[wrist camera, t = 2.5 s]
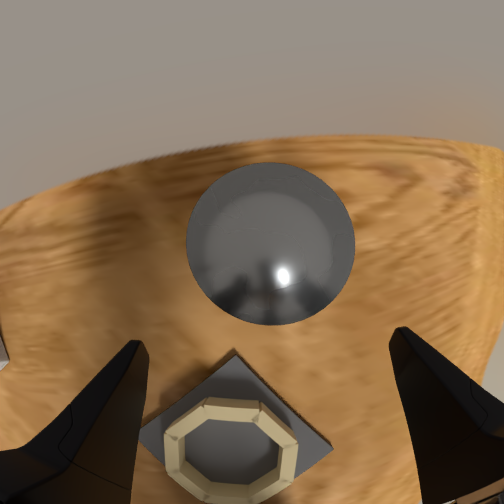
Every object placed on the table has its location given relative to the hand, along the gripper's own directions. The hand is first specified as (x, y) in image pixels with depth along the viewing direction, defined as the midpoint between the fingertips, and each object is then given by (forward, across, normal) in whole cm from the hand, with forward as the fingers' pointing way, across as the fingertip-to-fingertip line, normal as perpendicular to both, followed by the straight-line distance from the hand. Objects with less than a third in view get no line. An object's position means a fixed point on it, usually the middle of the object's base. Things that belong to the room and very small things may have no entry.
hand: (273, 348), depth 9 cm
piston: (+10, 0, +5) cm, 11 cm away
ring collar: (+1, +2, +14) cm, 14 cm away
